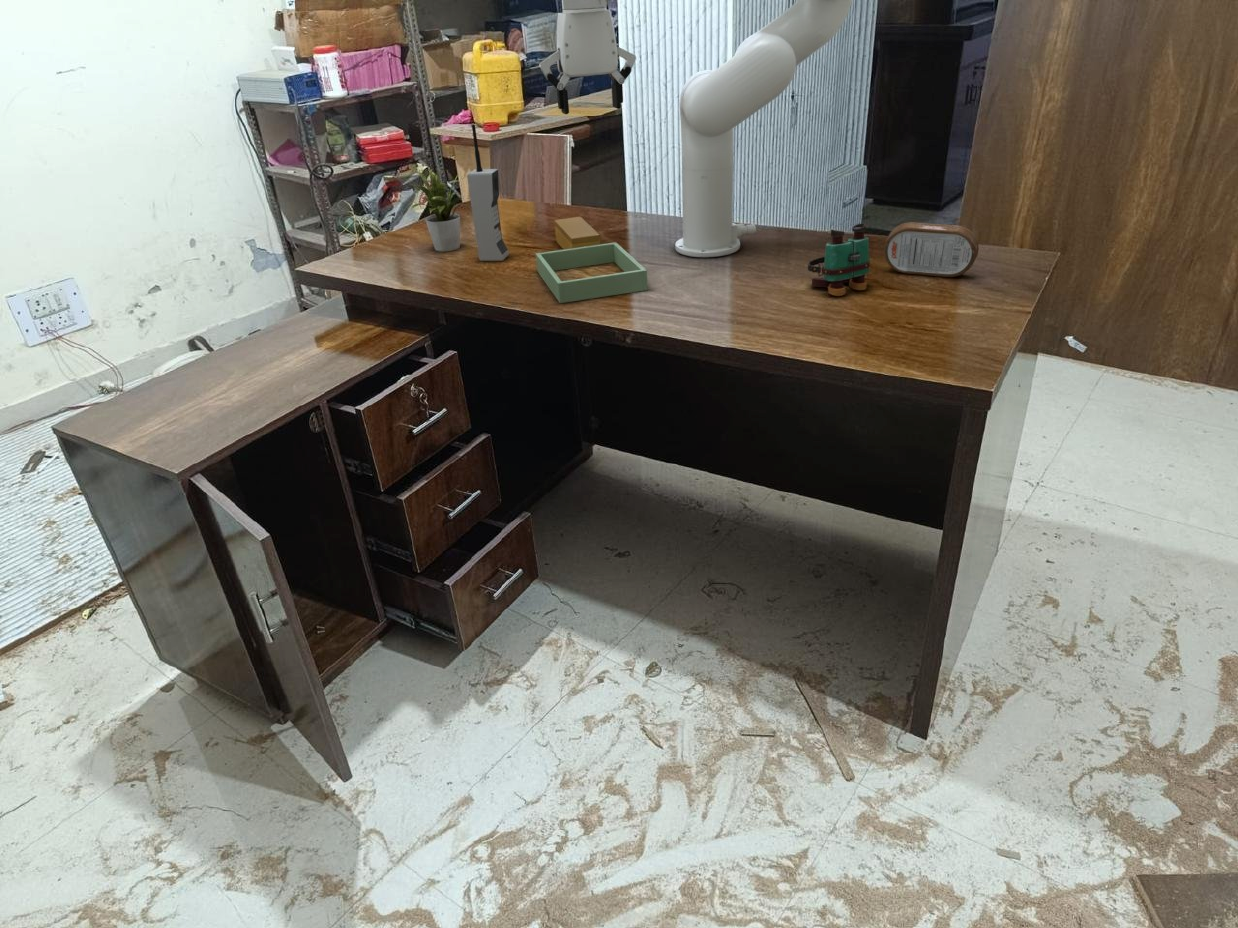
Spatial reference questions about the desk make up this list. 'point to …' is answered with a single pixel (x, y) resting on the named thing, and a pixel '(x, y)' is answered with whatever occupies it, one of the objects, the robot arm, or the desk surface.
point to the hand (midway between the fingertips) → (591, 110)
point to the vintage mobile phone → (486, 210)
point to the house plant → (441, 214)
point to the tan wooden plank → (575, 233)
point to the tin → (931, 249)
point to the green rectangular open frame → (591, 286)
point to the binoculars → (843, 262)
